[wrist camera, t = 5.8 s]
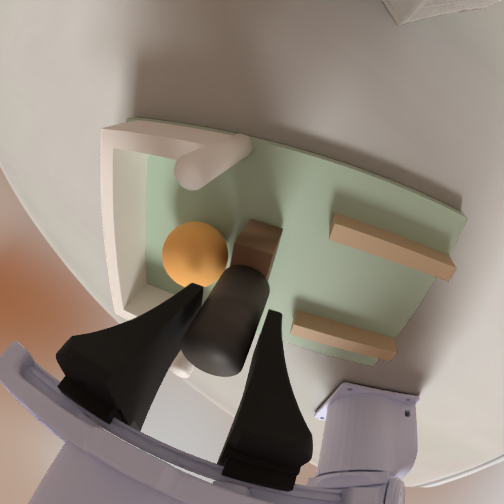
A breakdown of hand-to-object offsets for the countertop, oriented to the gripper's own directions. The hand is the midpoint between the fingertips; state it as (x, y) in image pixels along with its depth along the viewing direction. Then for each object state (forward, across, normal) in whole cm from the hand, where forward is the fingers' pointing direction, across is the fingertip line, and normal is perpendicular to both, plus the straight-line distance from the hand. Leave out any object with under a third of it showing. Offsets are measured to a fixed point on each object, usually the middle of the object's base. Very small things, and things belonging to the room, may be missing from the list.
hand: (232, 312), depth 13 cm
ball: (+3, +4, 0) cm, 5 cm away
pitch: (+6, -2, 0) cm, 7 cm away
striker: (+5, 0, 0) cm, 5 cm away
